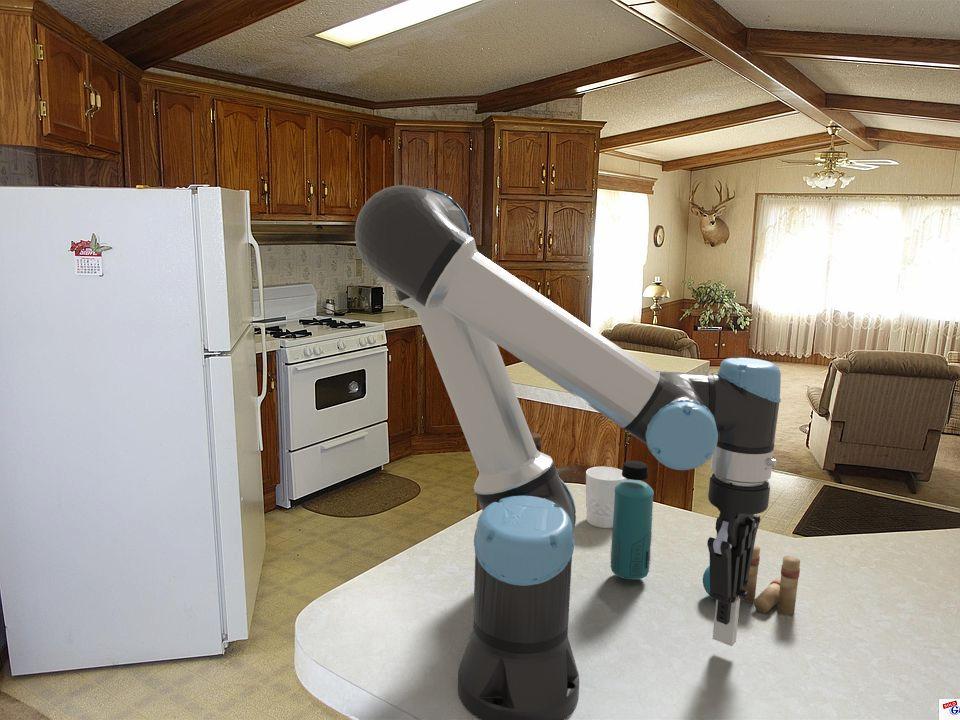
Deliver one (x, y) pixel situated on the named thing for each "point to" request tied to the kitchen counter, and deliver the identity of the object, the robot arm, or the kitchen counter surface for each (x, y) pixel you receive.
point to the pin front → (768, 597)
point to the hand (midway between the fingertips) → (724, 640)
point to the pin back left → (752, 576)
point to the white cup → (601, 495)
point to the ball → (707, 580)
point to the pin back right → (788, 585)
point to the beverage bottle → (632, 523)
